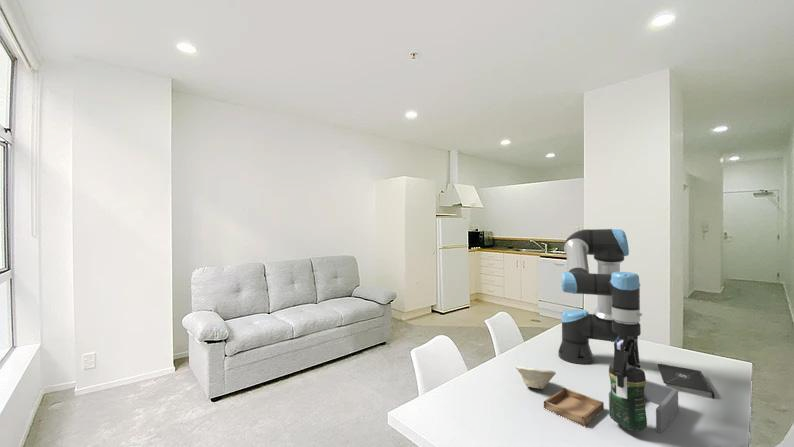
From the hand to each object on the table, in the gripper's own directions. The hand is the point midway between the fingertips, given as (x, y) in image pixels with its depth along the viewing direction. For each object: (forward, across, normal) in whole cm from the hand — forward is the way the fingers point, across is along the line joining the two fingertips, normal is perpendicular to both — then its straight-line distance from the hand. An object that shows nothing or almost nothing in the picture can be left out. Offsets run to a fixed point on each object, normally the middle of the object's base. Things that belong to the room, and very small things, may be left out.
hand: (627, 391), depth 105 cm
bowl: (+12, +3, +33) cm, 35 cm away
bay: (+12, +15, 0) cm, 19 cm away
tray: (+12, -2, +16) cm, 20 cm away
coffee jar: (+10, 0, 0) cm, 10 cm away
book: (+13, +54, -3) cm, 56 cm away
